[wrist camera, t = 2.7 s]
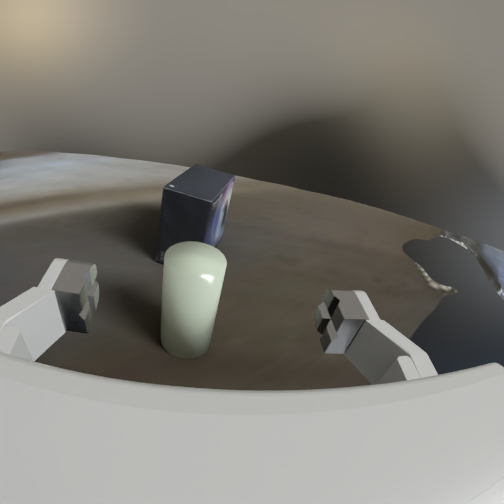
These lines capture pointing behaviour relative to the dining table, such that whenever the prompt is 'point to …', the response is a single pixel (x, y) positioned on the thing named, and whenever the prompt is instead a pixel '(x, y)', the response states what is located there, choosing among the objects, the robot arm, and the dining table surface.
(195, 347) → the pale green tall cylinder
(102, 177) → the dining table surface
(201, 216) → the small box
